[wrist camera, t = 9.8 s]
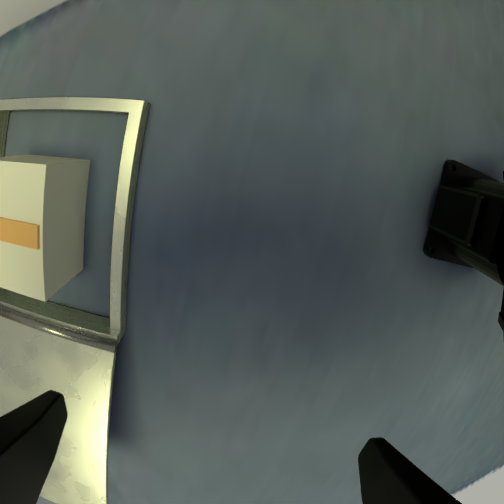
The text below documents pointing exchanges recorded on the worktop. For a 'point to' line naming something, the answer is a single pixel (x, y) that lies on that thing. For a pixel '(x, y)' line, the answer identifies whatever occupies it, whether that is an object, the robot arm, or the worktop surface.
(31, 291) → the block
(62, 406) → the robot arm
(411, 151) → the worktop surface
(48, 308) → the case
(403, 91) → the worktop surface
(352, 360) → the worktop surface
